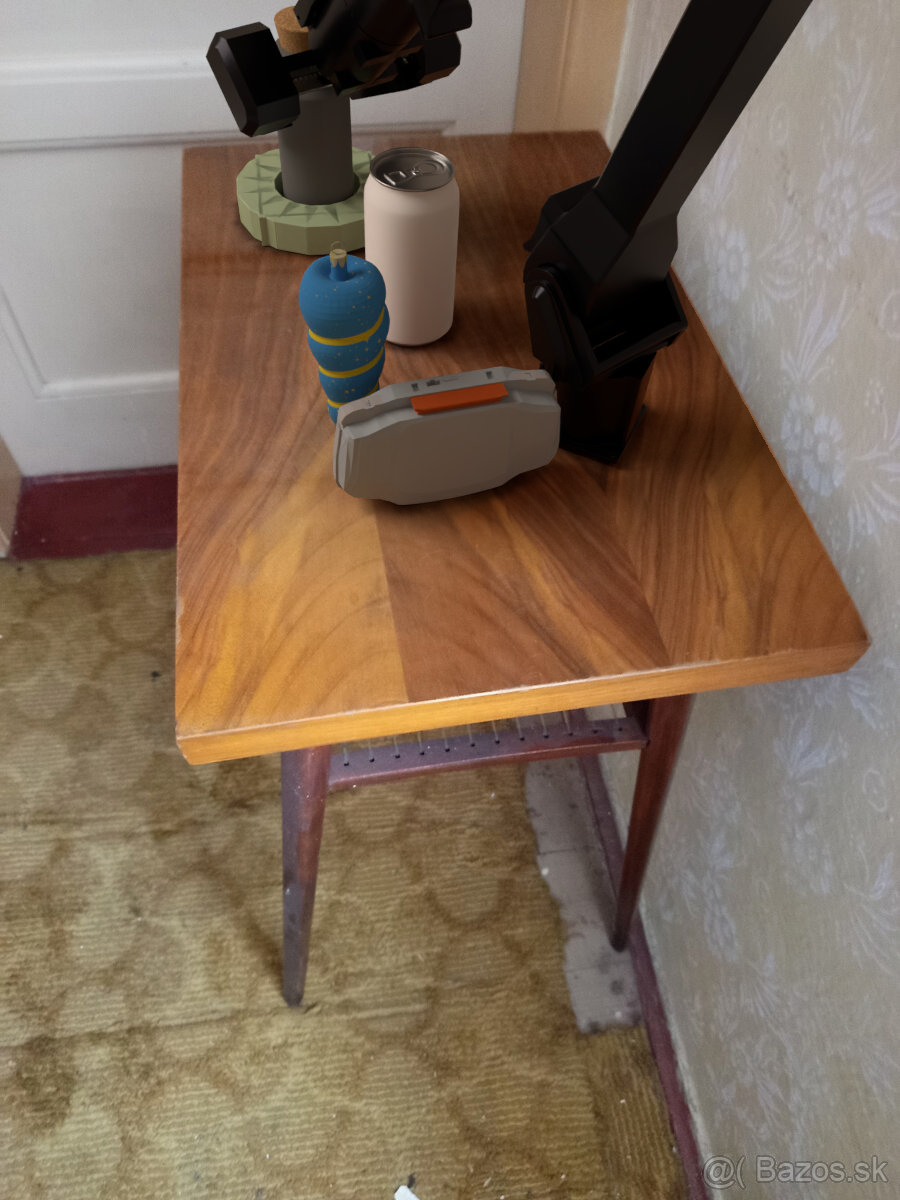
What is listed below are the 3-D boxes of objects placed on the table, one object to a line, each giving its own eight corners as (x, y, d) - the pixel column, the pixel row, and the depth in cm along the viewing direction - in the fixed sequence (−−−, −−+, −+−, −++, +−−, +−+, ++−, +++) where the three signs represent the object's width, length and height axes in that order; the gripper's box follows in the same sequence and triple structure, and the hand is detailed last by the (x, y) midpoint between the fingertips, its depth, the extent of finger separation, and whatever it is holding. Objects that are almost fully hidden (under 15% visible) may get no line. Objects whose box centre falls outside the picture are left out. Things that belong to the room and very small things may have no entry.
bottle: (359, 227, 77) (352, 32, 65) (289, 232, 76) (269, 35, 64) (349, 191, 81) (341, -1, 69) (282, 195, 80) (262, 1, 68)
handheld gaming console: (542, 450, 62) (559, 353, 55) (558, 480, 60) (577, 384, 54) (332, 488, 59) (324, 390, 52) (342, 521, 57) (335, 424, 51)
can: (469, 331, 69) (480, 177, 60) (396, 359, 67) (396, 203, 57) (422, 288, 72) (426, 134, 63) (351, 313, 70) (344, 158, 60)
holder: (387, 168, 83) (387, 140, 81) (406, 251, 75) (406, 222, 73) (239, 173, 81) (235, 145, 80) (242, 258, 74) (237, 229, 72)
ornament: (396, 472, 60) (395, 267, 48) (316, 479, 59) (296, 272, 47) (386, 419, 63) (383, 214, 51) (310, 425, 62) (290, 218, 50)
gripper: (445, -157, 61) (354, -22, 75) (194, -112, 53) (145, 29, 67) (511, 17, 64) (412, 116, 77) (281, 83, 56) (217, 180, 70)
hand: (302, 108), depth 73 cm, fingers open, 9 cm apart
